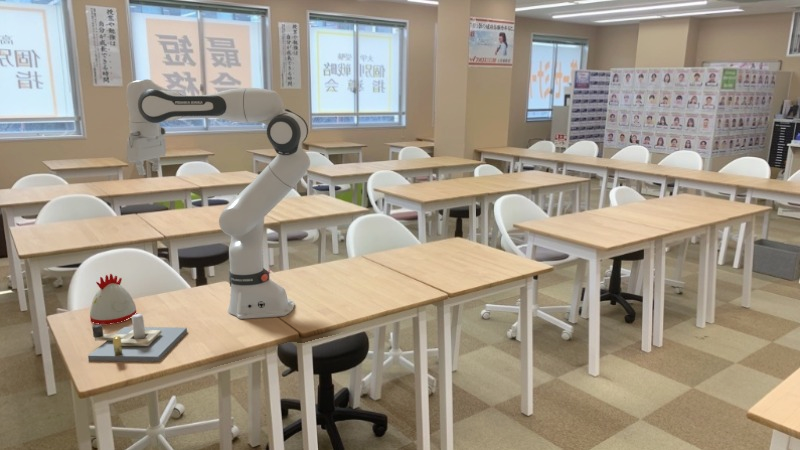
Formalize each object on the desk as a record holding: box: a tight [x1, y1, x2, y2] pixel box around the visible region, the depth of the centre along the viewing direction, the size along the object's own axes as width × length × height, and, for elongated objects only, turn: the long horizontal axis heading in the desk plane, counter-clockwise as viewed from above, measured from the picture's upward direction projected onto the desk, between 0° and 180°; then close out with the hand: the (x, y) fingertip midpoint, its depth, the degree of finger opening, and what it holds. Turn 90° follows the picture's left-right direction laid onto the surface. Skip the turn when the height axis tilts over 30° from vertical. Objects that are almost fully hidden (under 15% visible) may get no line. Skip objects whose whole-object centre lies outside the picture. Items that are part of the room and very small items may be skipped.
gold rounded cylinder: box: [113, 336, 123, 356], centre depth 156 cm, size 2×2×5 cm
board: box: [87, 313, 188, 362], centre depth 164 cm, size 20×20×10 cm
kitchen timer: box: [89, 273, 137, 325], centre depth 186 cm, size 14×14×15 cm
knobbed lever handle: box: [91, 324, 162, 346], centre depth 164 cm, size 18×9×4 cm, turn 88°
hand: (149, 172), depth 184 cm, fingers open, 8 cm apart
